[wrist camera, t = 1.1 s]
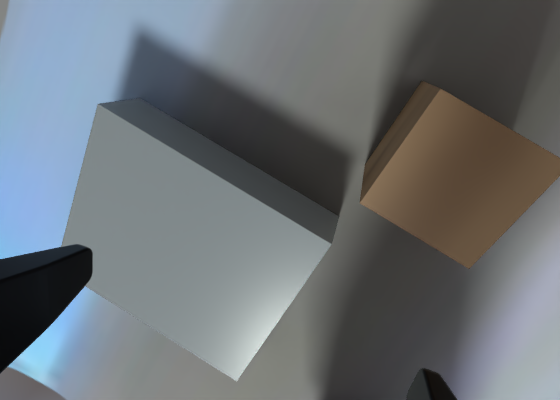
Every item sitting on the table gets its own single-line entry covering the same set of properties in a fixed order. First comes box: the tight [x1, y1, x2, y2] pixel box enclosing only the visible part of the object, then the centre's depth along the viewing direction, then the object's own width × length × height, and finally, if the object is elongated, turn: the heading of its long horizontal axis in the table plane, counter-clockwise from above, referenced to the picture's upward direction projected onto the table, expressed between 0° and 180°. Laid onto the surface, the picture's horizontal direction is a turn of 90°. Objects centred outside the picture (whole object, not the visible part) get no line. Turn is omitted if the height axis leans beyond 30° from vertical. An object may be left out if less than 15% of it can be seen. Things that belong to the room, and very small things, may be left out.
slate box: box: [61, 98, 339, 381], centre depth 23 cm, size 14×12×4 cm
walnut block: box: [360, 81, 560, 269], centre depth 16 cm, size 5×5×6 cm
